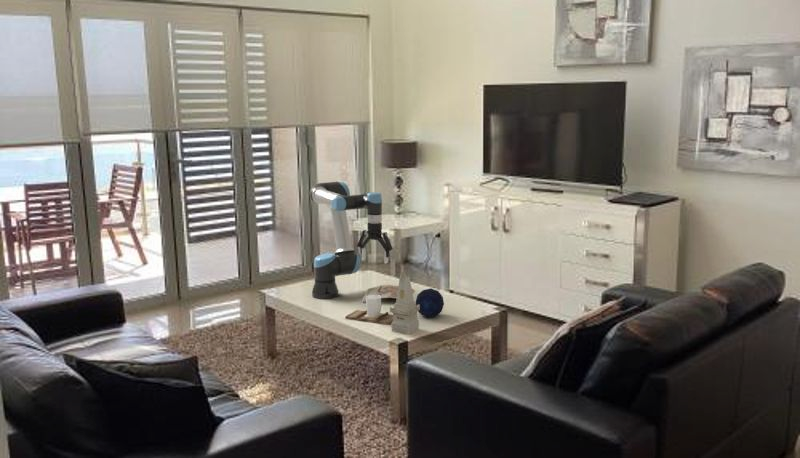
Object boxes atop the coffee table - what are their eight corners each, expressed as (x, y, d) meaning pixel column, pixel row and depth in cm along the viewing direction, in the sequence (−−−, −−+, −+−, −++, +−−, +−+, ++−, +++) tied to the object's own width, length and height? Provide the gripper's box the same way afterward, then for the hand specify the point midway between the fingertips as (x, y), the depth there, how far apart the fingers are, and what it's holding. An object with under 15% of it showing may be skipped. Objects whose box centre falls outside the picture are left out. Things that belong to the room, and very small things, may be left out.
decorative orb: (454, 307, 353) (441, 281, 358) (434, 313, 343) (420, 286, 347) (438, 318, 363) (425, 293, 367) (417, 325, 353) (405, 299, 357)
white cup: (384, 315, 354) (384, 296, 352) (373, 319, 348) (373, 299, 346) (373, 312, 359) (373, 293, 357) (362, 316, 353) (362, 297, 351)
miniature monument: (390, 331, 333) (389, 270, 328) (401, 325, 342) (400, 265, 337) (409, 334, 328) (408, 273, 323) (420, 328, 337) (419, 268, 332)
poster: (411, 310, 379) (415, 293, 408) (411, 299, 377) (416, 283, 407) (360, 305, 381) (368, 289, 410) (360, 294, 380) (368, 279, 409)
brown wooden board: (345, 318, 354) (345, 314, 354) (357, 312, 365) (357, 307, 364) (389, 324, 343) (389, 320, 343) (400, 318, 354) (400, 313, 353)
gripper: (350, 221, 367) (350, 260, 371) (392, 225, 355) (392, 265, 360) (357, 218, 373) (358, 257, 377) (399, 223, 362) (399, 262, 366)
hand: (374, 261), depth 369 cm, fingers open, 13 cm apart
